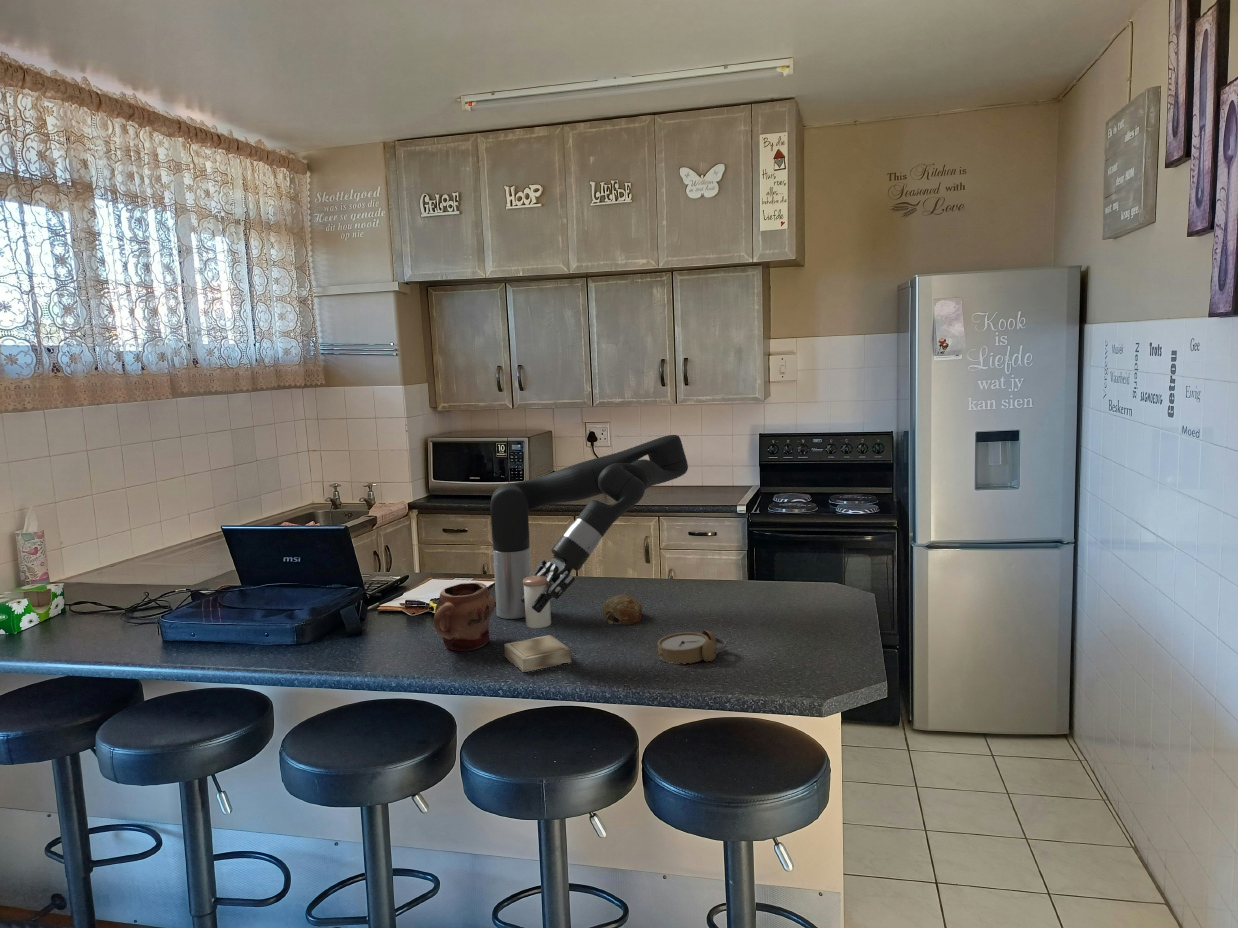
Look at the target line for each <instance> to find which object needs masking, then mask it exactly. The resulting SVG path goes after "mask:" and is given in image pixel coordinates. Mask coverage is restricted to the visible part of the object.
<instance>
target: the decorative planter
mask: <svg viewBox="0 0 1238 928" xmlns="http://www.w3.org/2000/svg"><path fill="white" fill-rule="evenodd" d="M495 607H496V600H495V598H494V597H493V596H492V594H491V593H490V591H489V588H488V586H487V585H486V584H484V583H482V582H479V581H478V582H463V583H458V584H456V585H452V586H449V587H445V588H443V589H442V590H441V592H440V593H439V598H438V600H437V603H436V605H435V608H434V609H435V610H434V617H433V627H434V629H435V632H437V634H438V636H440V637H441V638H442V640H443V644H444V645H445V648H447V649H448V650H452V651H461V652H466V651H467V652H468V651H469V652H470V651H473V650H476V649H479V648H481V647H483V646H485V645H486V644H487V643H489V642H490V630H489V629H490V628H489V626H490V625H489V622H490V619H491V617H492V615H493V613H494V611H495Z"/></svg>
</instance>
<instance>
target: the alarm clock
mask: <svg viewBox="0 0 1238 928" xmlns="http://www.w3.org/2000/svg"><path fill="white" fill-rule="evenodd" d="M718 643H719V644H721V646H719V647H717V644H718ZM726 649H727V642H726V640H725V639H723V638H718V637H716V636H715V634H714V633H713V632H712V631H710V630H703V631H702V633H700V632H693V631H687V632H686V631H685V632H676V633H671V634H668V635H665V636H663V637H661V638H659V640H657V650H658V651H657V652H658V654H656V657H658V658H659V657H660V658H662V659H663V660H665V661H668V662H673V663H689V664H694V663H698V662H701V661H706V662H705V663H709V662H708V661H710V662H713V661H714V660H715V658H716V656H717V654H718V653H720V652H723V651H724V650H726ZM660 658H659V659H660ZM712 660H713V661H712ZM665 661H664V662H665Z"/></svg>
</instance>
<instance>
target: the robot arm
mask: <svg viewBox="0 0 1238 928" xmlns="http://www.w3.org/2000/svg"><path fill="white" fill-rule="evenodd" d="M645 456H648V458H649V459H646V458H645V459H643V457H645ZM641 458H642V459H641ZM688 470H689V464H688V460H687V457H686V453H685V449H684V446H683V443H682V440H681V437H680V436H679V435H677V434H668V435H665V436H662V437H657V438H656V439H652V440H650V441H647V442H644V443H641V444H639V445H636V446H634V447H630V448H627V449H624V450H621V451H618V452H615V453H611V454H608V455H603V456H600V457H596V458H592V459H589V460H585V461H581V462H579V463H575V464H571V465H570V466H567V467H564V468H561V469H559V470H556V471H553V472H551V473H548V474H546V475H544V476H540V477H536V478H532V479H527V480H522V481H517V482H511V483H506V484H502V485H500V486H498V487H497V488H496V489H495V490H494V492H493V493H492V495H491V499H490V524H491V525H490V526H491V527H490V528H491V539H492V540H491V541H492V551H493V553H492V554H493V569H494V588H495V590H494V591H495V607H496V610H495V611H496V616H497V617H499V618H502V619H505V620H506V619H507V620H509V619H511V620H513V619H522V618H526V614H525V598H524V584H523V579H524V578H526V577H529V576H537V575H539V576H546V577H548V578H547V582H546V583H547V584H546V587H545V588H544V590H543V594H542V593H541V595H540V596H539V597H538V598H537V600H536V601H535V602H534V604H533V605H532V609H534V610H535V611H536V612H538V613H540V612H541V611H542V609H543V608H544V607H545V605H546V604H547V603H548V602H549V600H550V601H551V600H553V599H556V600H558V599H559V598H560V597H561V596H562V595H563V594H564V593H565V592H566V591H567V589H568V588H569V587H570V586H571V585H572V584H573V583H574V582H575V580H576V578H575V577H574V576H573V575H572V574H571V573H572V571H579V570H581V569H582V567H583V566H584V565H585V563H586V561H587V560H588V559H589V557H590V556H591V555H592V553H593V552H594V551H595V550H596V548H597V547H598V545H599V543H600V541H601V540H602V539H603V537H604V536H605V535H606V533H607V532H608V530H609V529H610V528H611V526H612V525H613V524H614V523H615V522H616V521H617V520H618V519H619V518H620V517H621V516H623V515H624V514H625V513H626V512H628V511H629V510H630V509H632V508H633V507H634V506H635V505H637V504H638V503H639V502H640V501H642V499H643V496H644V494H645V491H646V490H647V489H649V488H650V487H652V486H656V485H660V484H665V483H667V482H670V481H673V480H675V479H678V478H680V477H682V476H684V475H685V474H686V473H687V472H688ZM603 494H605V495H607V497H609V498H611V499H612V500H613V501H615V502H614V503H612V504H609V503H604V502H602V501H599V500H596V499H592V500H590V501H589V502H588V503H587V504H586V505H585V507H584V508H583V510H582V511H581V512H580V514H579V515H578V516H577V517H576V519H574V521H573V522H572V523H571V524H570V525H569V526H568V527H567V528H566V530H565V531H564V532H563V534H562V535H561V536H560V538H559V539H558V540H557V542H556V543H555V544H554V545H553V547H552V548H551V553H552V554H553V556H552V558H551V559H550V560H548V561H546V560H545V559H541V560H540V562H539V563H538V565H537V566H536V568H535V569H534V571H533V572H531V571H532V569H531V552H530V551H531V550H530V523H529V512H530V511H533V510H535V509H538V508H540V507H543V506H546V505H547V506H548V505H550V504H557V503H568V502H577V501H581V500H587V499H589V498H593V497H596V496H600V495H603Z"/></svg>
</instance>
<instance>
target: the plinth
mask: <svg viewBox="0 0 1238 928" xmlns="http://www.w3.org/2000/svg"><path fill="white" fill-rule="evenodd" d="M505 657H506V658H507V659H506V658H505ZM504 658H505V659H506V660H507V661H508V662H510V663H511V664H512V663H513V664H514V665H515V666H514V667H516V668H517V667H518V668H519V669H520V670H521V671H522V672H528V671H532V670H536V669H540V668H544V667H548V666H553V665H558V664H561V663H567V662H571V663H572V650H571V648H569V647H568V646H567V645H565V644H564V643H562V642H561V641H560V640H558V639H557V638H556V637H554V636H553V635H551V634H547V635H542V636H538V637H532V638H528V639H523V640H519V641H514V642H508V643H504ZM513 664H512V665H513ZM518 668H517V669H518ZM519 669H518V670H519ZM520 670H519V671H520ZM521 671H520V672H521ZM522 672H521V673H522ZM532 672H533V671H532ZM528 673H529V672H528Z"/></svg>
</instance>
